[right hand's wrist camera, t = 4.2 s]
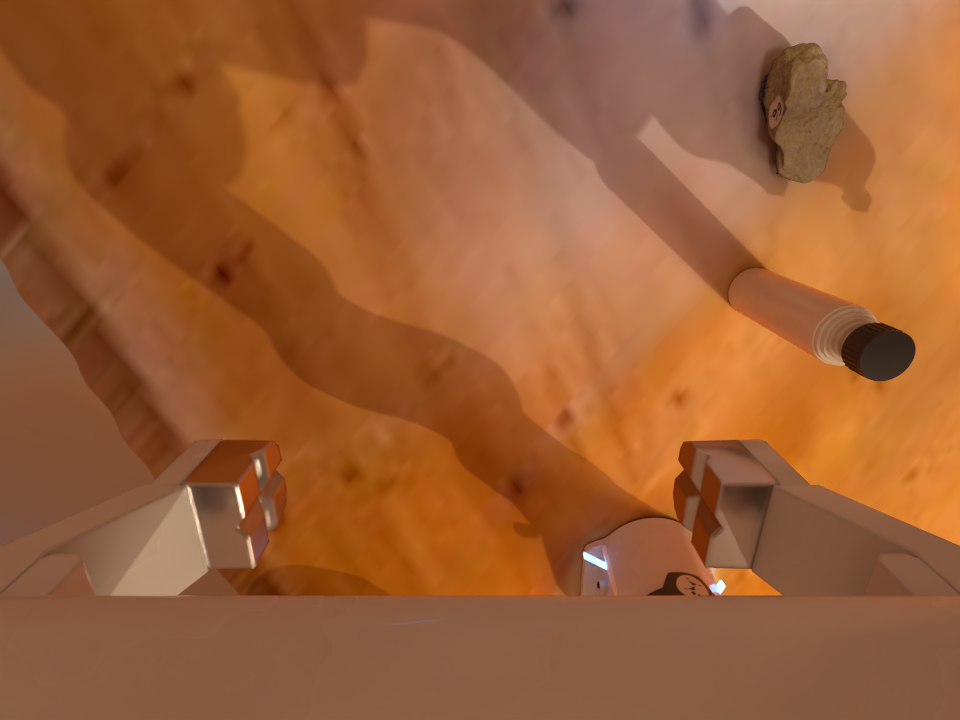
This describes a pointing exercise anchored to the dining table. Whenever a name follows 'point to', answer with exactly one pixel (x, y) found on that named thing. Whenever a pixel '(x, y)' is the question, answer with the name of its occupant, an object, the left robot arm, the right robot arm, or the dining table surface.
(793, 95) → the rock
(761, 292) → the bottle
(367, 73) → the dining table surface
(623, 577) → the left robot arm
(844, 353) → the cap
